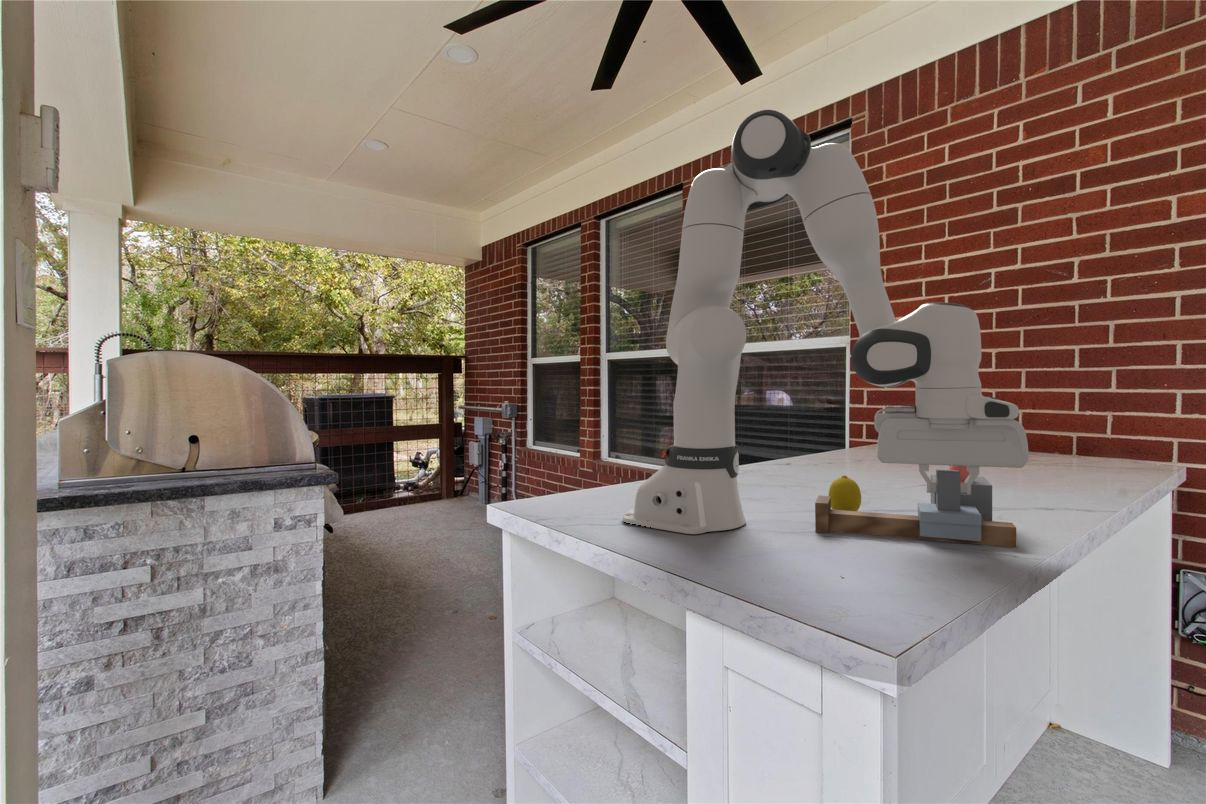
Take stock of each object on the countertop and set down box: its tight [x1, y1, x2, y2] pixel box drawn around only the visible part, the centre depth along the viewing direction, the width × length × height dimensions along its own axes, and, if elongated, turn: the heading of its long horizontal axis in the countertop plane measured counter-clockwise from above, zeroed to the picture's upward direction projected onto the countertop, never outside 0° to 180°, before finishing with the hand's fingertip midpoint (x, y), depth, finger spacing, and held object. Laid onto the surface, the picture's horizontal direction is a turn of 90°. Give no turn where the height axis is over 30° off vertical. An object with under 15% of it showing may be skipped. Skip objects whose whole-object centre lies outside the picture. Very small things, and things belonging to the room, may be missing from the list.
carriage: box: [917, 468, 982, 541], centre depth 88 cm, size 8×6×10 cm
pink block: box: [948, 465, 970, 482], centre depth 95 cm, size 3×3×6 cm
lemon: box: [828, 475, 862, 511], centre depth 102 cm, size 6×6×8 cm
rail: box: [814, 495, 1017, 548], centre depth 90 cm, size 28×6×5 cm, turn 63°
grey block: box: [930, 474, 993, 521], centre depth 95 cm, size 8×8×8 cm
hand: (948, 493), depth 88 cm, fingers closed on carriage, 3 cm apart
